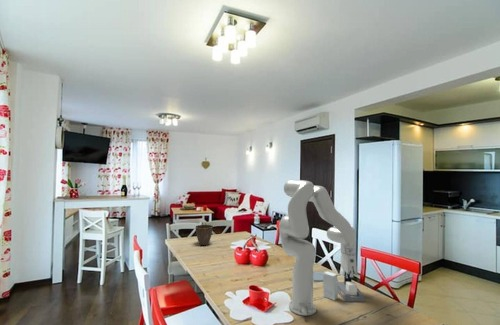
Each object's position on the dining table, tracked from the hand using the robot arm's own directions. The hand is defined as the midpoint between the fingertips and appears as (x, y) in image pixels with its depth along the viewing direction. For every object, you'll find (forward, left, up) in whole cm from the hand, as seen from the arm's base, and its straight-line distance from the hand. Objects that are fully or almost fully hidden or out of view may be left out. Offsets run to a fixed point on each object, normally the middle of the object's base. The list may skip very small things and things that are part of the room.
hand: (347, 285), depth 134 cm
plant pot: (+87, +90, -5) cm, 125 cm away
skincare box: (-4, +11, -5) cm, 13 cm away
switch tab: (-4, 0, -2) cm, 5 cm away
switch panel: (+1, 0, -4) cm, 5 cm away
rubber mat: (+21, +8, -4) cm, 23 cm away
